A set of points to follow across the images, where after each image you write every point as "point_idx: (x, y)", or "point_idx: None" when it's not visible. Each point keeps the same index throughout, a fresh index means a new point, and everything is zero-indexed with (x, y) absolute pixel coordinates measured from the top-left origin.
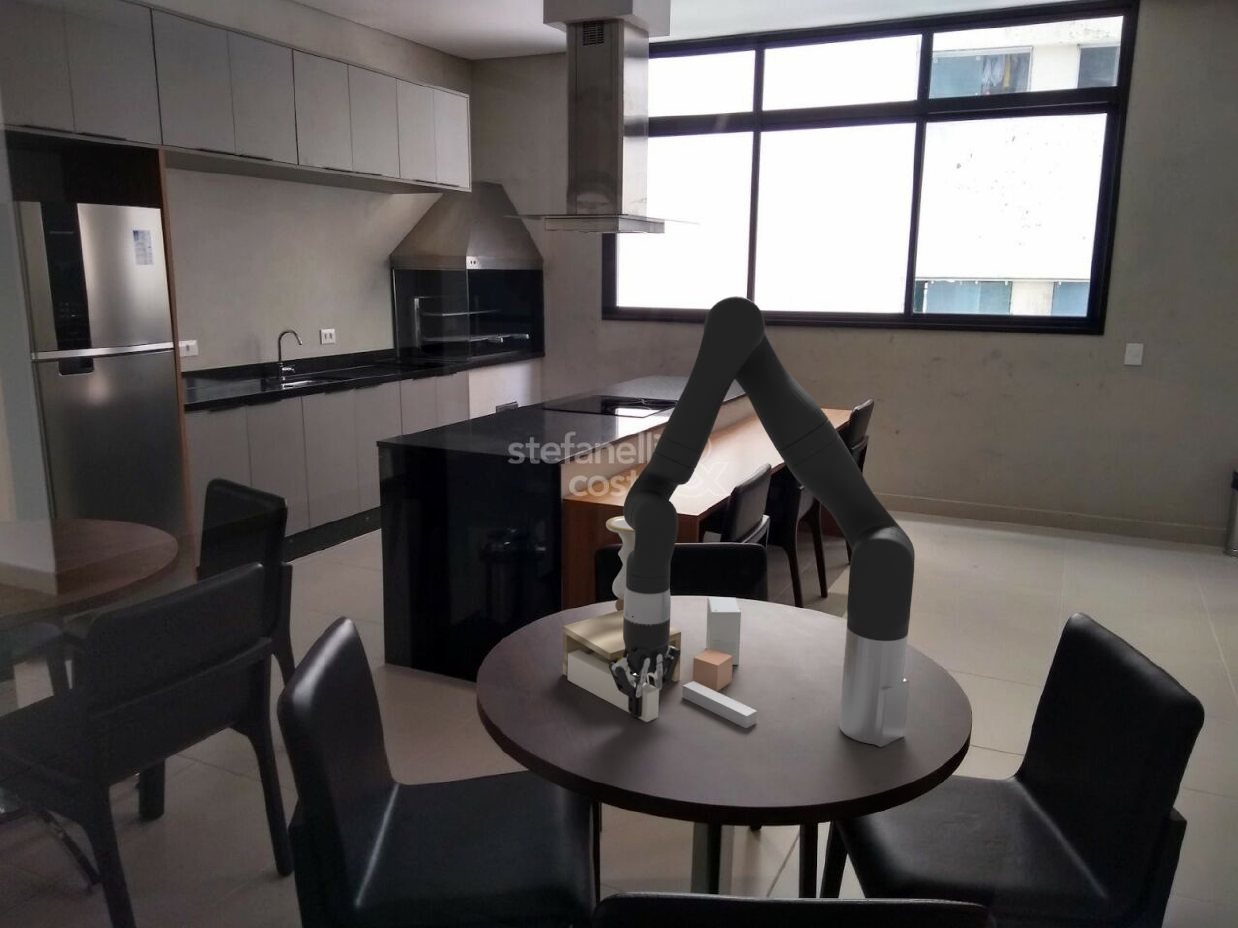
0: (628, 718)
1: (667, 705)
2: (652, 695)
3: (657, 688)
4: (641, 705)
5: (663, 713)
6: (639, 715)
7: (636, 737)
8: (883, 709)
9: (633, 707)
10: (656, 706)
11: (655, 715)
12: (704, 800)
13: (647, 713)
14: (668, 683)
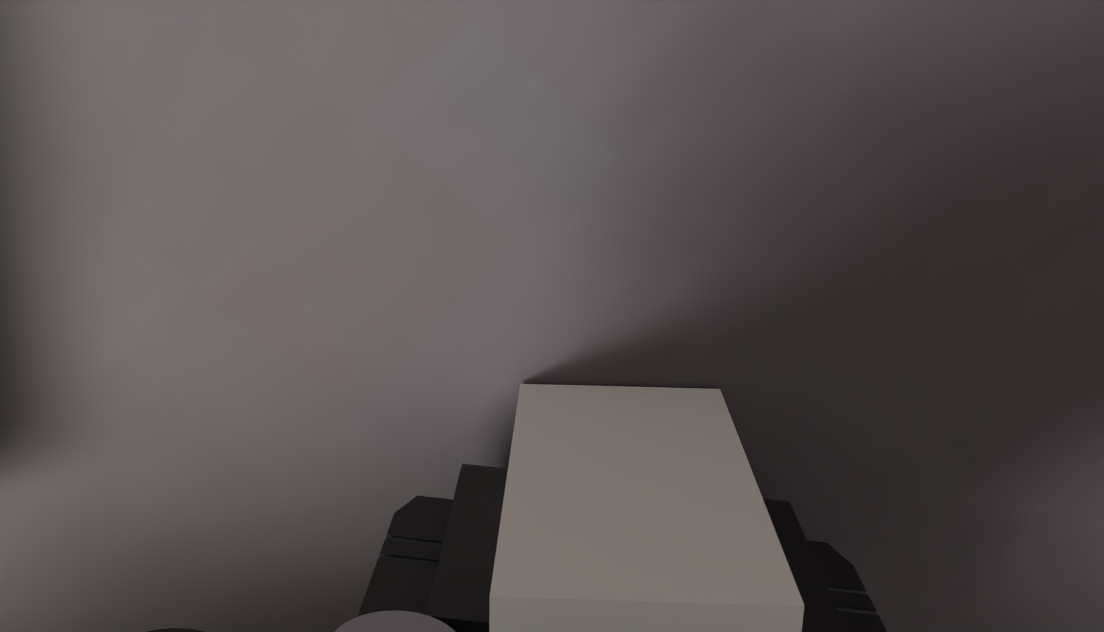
0: None
1: (221, 497)
2: (661, 558)
3: (498, 624)
4: None
5: (401, 400)
6: (768, 502)
7: (1097, 223)
8: None
9: (874, 608)
10: (555, 447)
11: (565, 399)
12: None
13: (729, 434)
14: (175, 628)
